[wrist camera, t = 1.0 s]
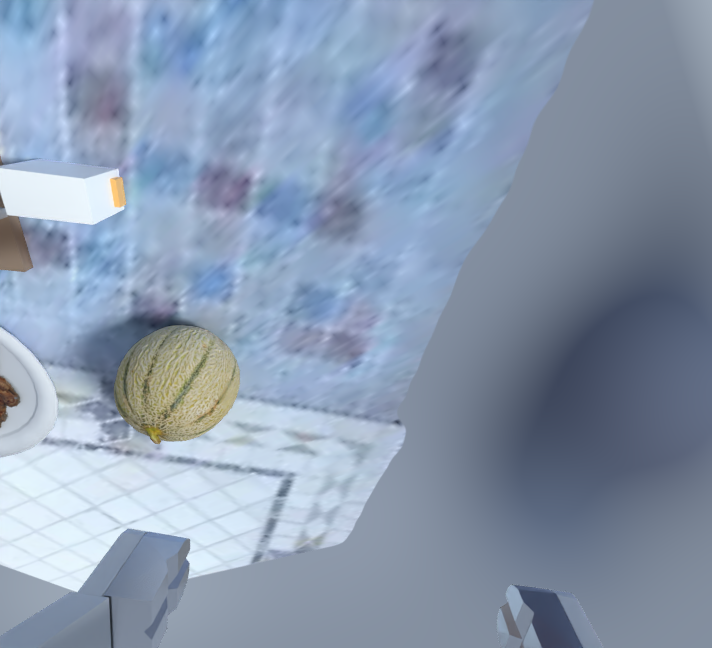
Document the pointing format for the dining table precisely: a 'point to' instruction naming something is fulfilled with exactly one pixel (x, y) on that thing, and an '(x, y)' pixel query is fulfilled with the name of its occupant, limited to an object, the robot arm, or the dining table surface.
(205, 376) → the cantaloupe
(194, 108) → the dining table surface
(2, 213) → the rail panel
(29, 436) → the plated food
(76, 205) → the rail module
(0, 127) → the dining table surface
